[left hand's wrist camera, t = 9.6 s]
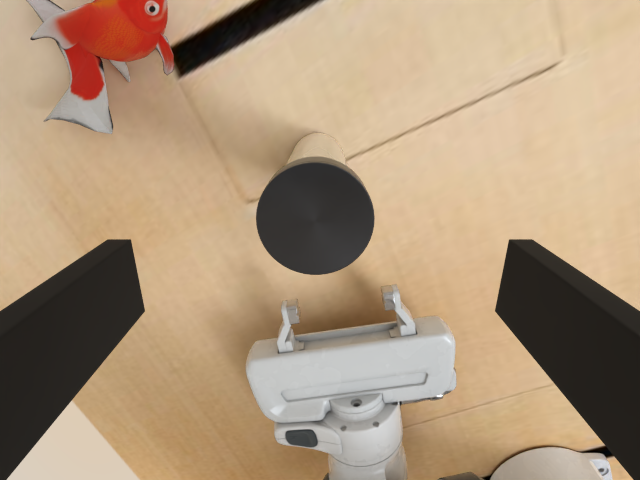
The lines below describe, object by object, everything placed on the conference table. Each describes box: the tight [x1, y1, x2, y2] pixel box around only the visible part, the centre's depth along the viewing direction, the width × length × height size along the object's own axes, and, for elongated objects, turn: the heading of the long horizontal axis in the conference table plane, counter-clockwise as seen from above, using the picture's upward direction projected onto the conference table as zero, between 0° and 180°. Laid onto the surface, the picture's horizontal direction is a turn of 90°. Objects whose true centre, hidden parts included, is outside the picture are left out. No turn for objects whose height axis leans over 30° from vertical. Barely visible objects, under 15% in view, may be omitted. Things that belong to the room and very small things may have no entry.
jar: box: [286, 133, 349, 167], centre depth 27 cm, size 5×5×19 cm
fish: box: [26, 0, 174, 134], centre depth 29 cm, size 11×16×10 cm
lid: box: [256, 156, 374, 275], centre depth 19 cm, size 6×6×2 cm
